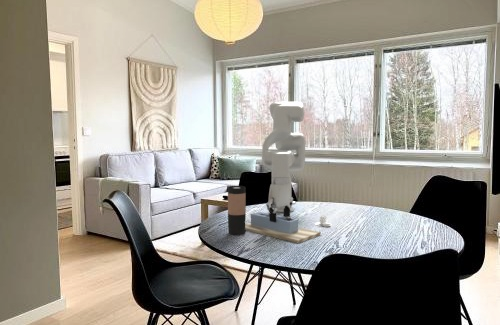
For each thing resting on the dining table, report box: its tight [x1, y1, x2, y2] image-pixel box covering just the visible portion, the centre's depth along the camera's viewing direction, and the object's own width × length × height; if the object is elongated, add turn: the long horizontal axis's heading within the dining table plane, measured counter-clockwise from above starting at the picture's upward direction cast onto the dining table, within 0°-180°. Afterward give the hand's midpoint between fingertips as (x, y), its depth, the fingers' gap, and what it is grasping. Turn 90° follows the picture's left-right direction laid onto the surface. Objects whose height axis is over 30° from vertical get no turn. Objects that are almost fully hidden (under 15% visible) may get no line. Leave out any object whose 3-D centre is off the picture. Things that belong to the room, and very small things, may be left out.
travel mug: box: [227, 185, 247, 236], centre depth 164 cm, size 8×8×20 cm
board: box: [245, 212, 322, 244], centre depth 167 cm, size 16×32×7 cm, turn 47°
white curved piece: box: [314, 215, 333, 227], centre depth 179 cm, size 9×8×4 cm
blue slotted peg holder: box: [250, 211, 299, 234], centre depth 169 cm, size 6×22×5 cm, turn 47°
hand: (280, 219), depth 167 cm, fingers open, 9 cm apart
